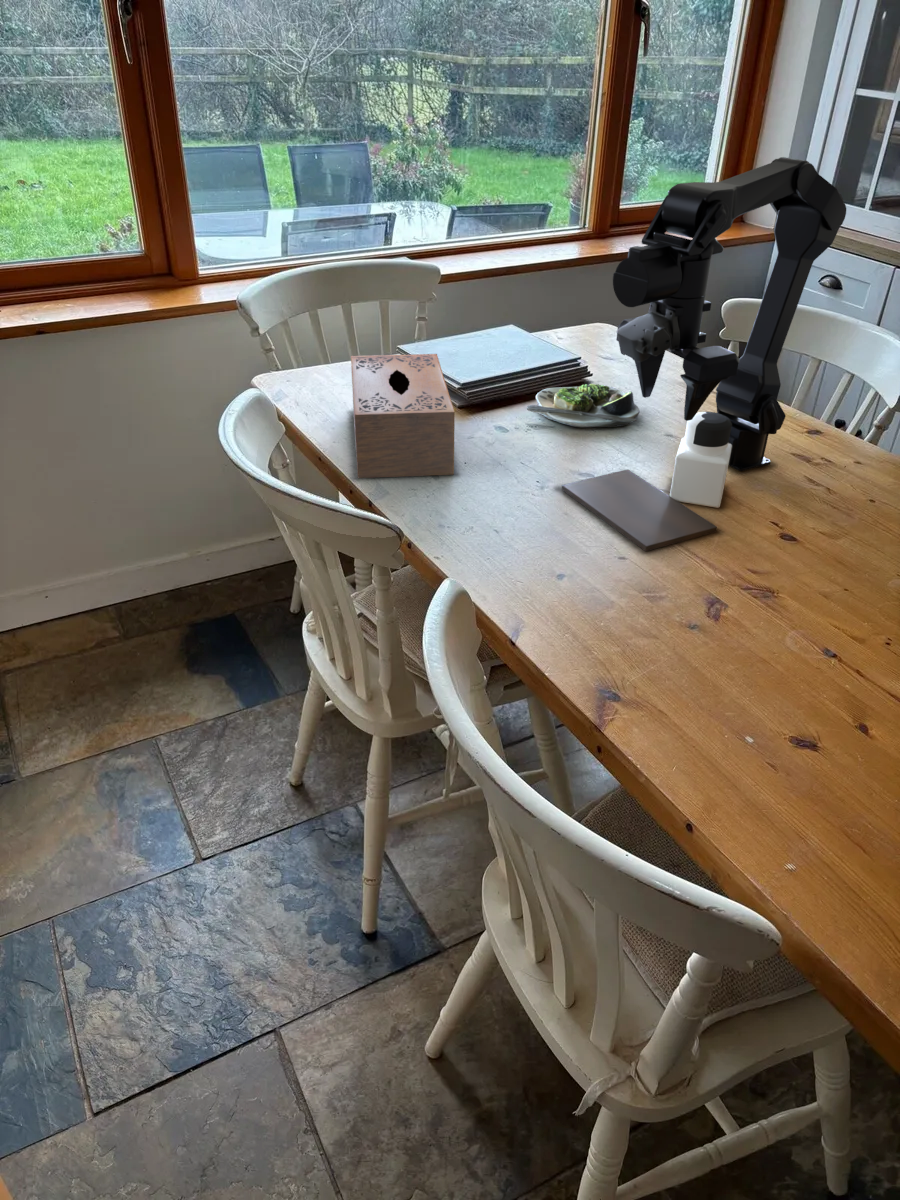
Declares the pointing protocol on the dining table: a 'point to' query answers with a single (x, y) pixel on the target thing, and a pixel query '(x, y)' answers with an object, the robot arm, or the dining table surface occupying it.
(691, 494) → the medicine bottle
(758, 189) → the robot arm
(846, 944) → the dining table surface
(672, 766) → the dining table surface
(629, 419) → the salad plate
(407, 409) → the tissue box cover
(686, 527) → the walnut mat
